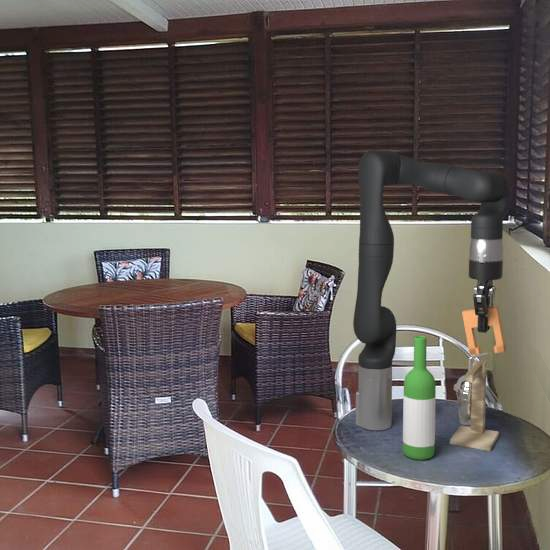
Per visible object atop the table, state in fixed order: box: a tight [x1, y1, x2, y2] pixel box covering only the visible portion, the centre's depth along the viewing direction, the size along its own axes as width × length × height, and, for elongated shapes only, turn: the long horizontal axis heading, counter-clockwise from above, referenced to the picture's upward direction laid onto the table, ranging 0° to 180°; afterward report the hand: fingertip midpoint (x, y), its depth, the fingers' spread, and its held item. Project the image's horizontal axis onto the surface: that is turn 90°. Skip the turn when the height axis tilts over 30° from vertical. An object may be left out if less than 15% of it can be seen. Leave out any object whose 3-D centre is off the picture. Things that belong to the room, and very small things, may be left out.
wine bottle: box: [402, 335, 437, 461], centre depth 163 cm, size 8×8×30 cm
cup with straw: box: [453, 351, 489, 427], centre depth 184 cm, size 8×9×20 cm
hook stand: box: [449, 359, 500, 452], centre depth 171 cm, size 10×14×20 cm
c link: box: [461, 305, 507, 356], centre depth 157 cm, size 8×2×10 cm, turn 61°
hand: (483, 330), depth 157 cm, fingers closed on c link, 2 cm apart
